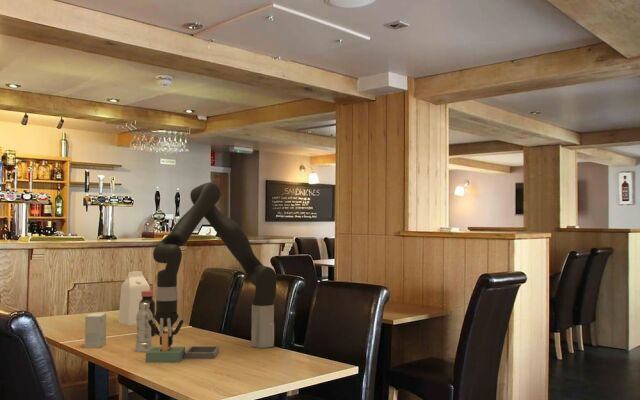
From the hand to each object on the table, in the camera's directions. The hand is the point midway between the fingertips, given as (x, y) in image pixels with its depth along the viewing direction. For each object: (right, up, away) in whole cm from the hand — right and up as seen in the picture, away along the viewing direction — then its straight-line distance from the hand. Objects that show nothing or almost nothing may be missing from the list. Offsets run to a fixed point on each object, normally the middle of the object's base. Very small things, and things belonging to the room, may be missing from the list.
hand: (166, 346), depth 222 cm
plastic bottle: (-12, -7, +14) cm, 20 cm away
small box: (-37, -7, +29) cm, 47 cm away
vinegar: (-22, -8, +52) cm, 57 cm away
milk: (-38, -9, +86) cm, 94 cm away
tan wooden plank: (0, -4, 0) cm, 4 cm away
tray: (+12, -7, +7) cm, 15 cm away
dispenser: (0, -6, 0) cm, 6 cm away
